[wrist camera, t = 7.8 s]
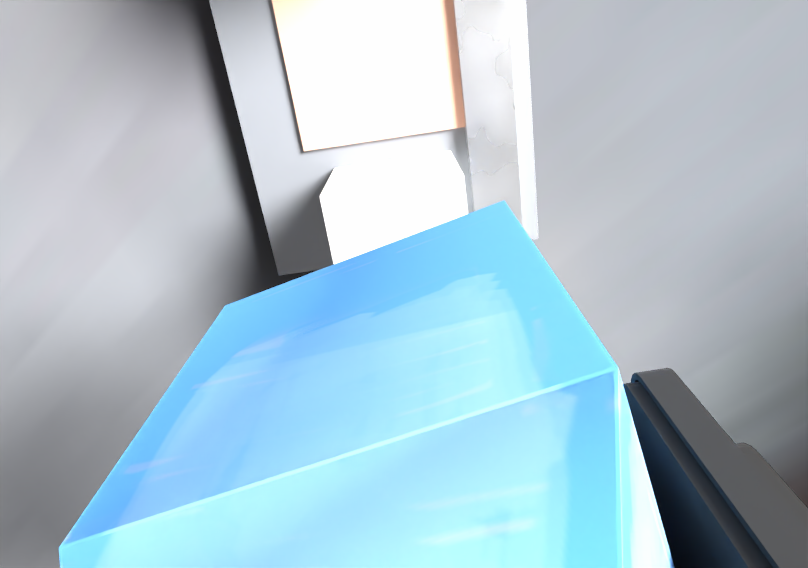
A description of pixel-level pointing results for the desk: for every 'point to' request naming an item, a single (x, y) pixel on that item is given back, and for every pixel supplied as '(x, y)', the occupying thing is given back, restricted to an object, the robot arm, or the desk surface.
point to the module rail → (379, 117)
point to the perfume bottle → (389, 426)
